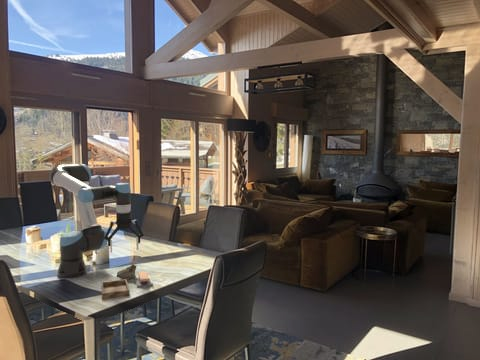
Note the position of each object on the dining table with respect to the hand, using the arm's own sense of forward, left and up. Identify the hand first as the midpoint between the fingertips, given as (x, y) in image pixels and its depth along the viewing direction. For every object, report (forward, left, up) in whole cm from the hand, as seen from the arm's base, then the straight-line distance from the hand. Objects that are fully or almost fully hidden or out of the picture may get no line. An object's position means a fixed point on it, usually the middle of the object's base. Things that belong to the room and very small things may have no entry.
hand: (124, 250), depth 204 cm
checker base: (+9, -8, -16) cm, 20 cm away
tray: (-6, -15, -16) cm, 23 cm away
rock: (+1, +2, -17) cm, 17 cm away
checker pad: (+9, -8, -13) cm, 18 cm away
